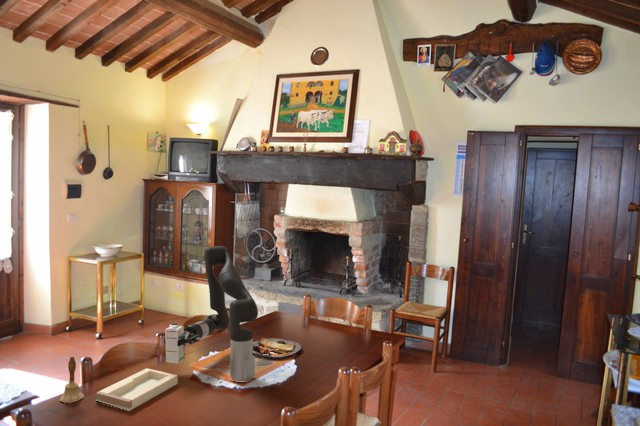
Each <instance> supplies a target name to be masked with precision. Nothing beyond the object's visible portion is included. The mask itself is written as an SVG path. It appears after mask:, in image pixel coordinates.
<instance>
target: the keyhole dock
mask: <svg viewBox="0 0 640 426" xmlns="http://www.w3.org/2000/svg"><path fill="white" fill-rule="evenodd" d="M176 385H178V375H177V374H174V373H169V372H165V371H160V370H156V369H152V368H147V367H146V368H144V369H142V370H140V371H138V372H135V373H134V374H131V375H130V376H128V377H126V378H124V379H122V380H120V381H117V382H115V383H114V384H111V385H109V386H107V387H105V388H102V389H101V390H99V391H97V392H95V402H96V401H99V402H102V403H106V404H109V405H111V406H110V407H112V406H114V407H113V408H116V407H117V408H116V409H119V408H120V410H123V409H124V411H126V410H127V412H130V411H132V410H134V409H135V408H137V407H139V406H141V405H142V404H144V403H146V402H148V401H150V400H152V399H153V398H155V397H157V396H158V395H160V394H162V393H164V392H165V391H167V390H169V389H171V388H172V387H174V386H176ZM109 405H108V406H109Z"/></svg>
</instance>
